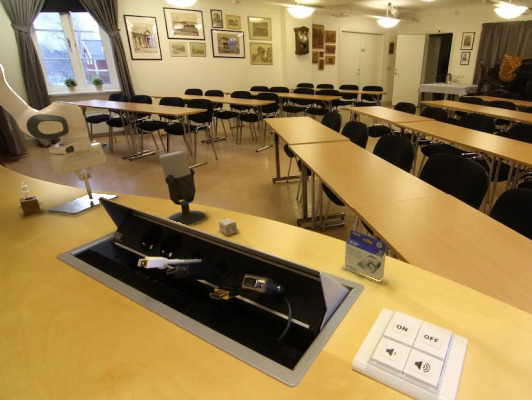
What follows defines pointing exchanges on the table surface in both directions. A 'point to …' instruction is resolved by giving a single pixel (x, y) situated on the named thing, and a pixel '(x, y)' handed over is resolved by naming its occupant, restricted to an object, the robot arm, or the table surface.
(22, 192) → the chess piece
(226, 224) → the usb wall charger
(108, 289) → the table surface
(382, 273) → the ink box
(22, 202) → the holder
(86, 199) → the tablet
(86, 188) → the stylus
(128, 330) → the table surface
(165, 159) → the microphone
